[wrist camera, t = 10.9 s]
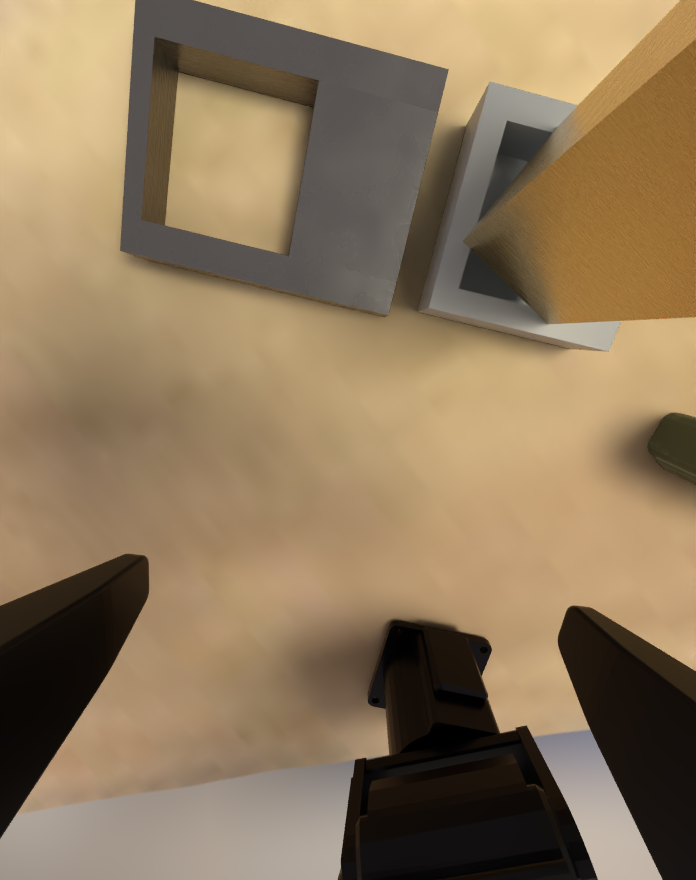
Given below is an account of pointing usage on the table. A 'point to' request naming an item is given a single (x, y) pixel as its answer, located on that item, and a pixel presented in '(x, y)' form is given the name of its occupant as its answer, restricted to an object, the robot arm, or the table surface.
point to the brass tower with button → (609, 195)
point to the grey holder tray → (327, 159)
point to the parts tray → (470, 196)
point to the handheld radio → (676, 445)
